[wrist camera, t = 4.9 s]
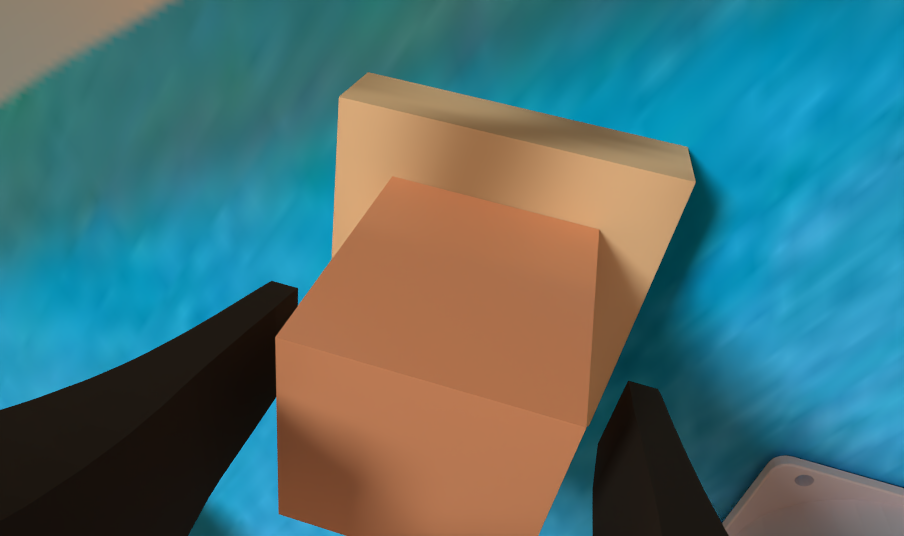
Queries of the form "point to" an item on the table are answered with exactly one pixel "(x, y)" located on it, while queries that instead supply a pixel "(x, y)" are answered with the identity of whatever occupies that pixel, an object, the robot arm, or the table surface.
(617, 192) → the maple slab
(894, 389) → the table surface
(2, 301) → the table surface
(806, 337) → the table surface
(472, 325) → the terracotta block
